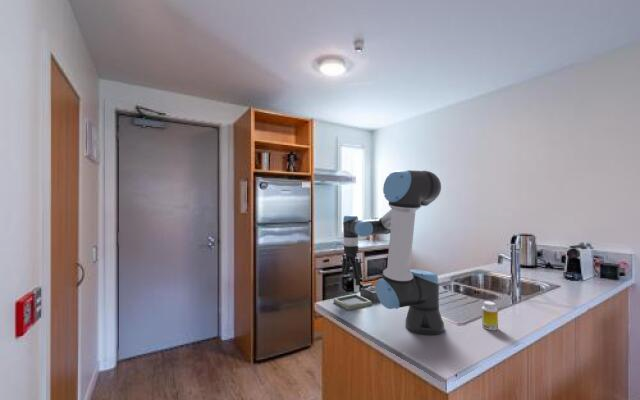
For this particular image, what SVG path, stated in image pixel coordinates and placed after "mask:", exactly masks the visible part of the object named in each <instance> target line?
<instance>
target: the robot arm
mask: <svg viewBox="0 0 640 400" xmlns="http://www.w3.org/2000/svg"><path fill="white" fill-rule="evenodd" d="M441 183H442V182H441V180H440V178H439V177H438V176H437V175H436V174H435V173H433V172H432V171H430V170H411V169H410V170H408V169H400V170H394V171H392V172H389V174H388V175H387V177H386V178H385V179H384V183H383V188H382V191H383V196H384V198H385V200H386V201H388V206H389V207H390V209H389V210H388V211H387V212H386V213H385V214H384V215H383V216H381V218H378V219H363V220H362V219H359V218H358V215H354V214H351V215H344V216H343V222H342V224H343V226H342V228H343V245H344V246H343V252H344V254H342V256H341V257H342V265H341V273H343V275H344V276H343V277H348V276H351V275H350V274H351V273H350V269H351V268H352V271H353V276H355V278H354V292H353V293H357V292H360V291H359V284H360V283H361V281H360V282H359V279H360V278H361V279H363V272H362V263H361V261H362V258H361V257H358V255H357V254H359V237H369V236H376V235H389V240H388V241H389V242H388V254H387V255H388V256H387V265H386V267H385V269H383V271H382V278H379V279H378V280H377V281H376V282H375V287H376V293H377V296H378V299H379V301H378V302H380V303H381V305H382V306H383V307H384V308H385V309H388V310H393V309H396V310H397V309H400V308H404V307H408V310H407V313H406V314H407V315H406V317H405V319H404V320H405V327H406V328H407V329H408V330H410V332H414V333H415V334H420V335H425V336H435V335H440V334H442V333H444V331H445V323H444V321H443V318H442V314H441V312H440V295H439V294H440V292H439V291H440V288H439V287H440V286H439V285H440V283H439V277H438V274H437V273H435V272H432V271H429V270H428V271H427V270H423V269H411V262H412V252H413V251H412V250H413V242H414V241H413V240H414V233H415V232H414V229H415V221H416V212H417V211H418V210H419V209H421V208H422V207H426V206H427V207H428V206H429V205H431V203H433V202H435V200H436V199H437V198H438V197H439V196H440V194H441V191H442V184H441Z"/></svg>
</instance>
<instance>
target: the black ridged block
mask: <svg viewBox="0 0 640 400" xmlns="http://www.w3.org/2000/svg"><path fill="white" fill-rule="evenodd" d="M354 278H355V276H354V275H350V276H348V277H345V276H341V278H340V286H341V289H342V290H343V291H344V292H345V293H355V292H354ZM359 282H360V284H359V291H358V292H360V291H362V289H361V288H363V284H362V283H363V282H364V280H363V278H360V279H359Z"/></svg>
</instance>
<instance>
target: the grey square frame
mask: <svg viewBox="0 0 640 400" xmlns="http://www.w3.org/2000/svg"><path fill="white" fill-rule="evenodd" d="M333 303H334V304H335V305H337V306H339V307H341V308H342V309H345V310H346V311H348V312H349V311H352V310H357V309H360V308H366V307H370V306H373V302H372V301H370V300H368V299H366V298H364V297H362V296H360V294H357V293H355V294H350V295H349V294H348V295H345V296H340V297H339V296H338V297H335V298H333Z"/></svg>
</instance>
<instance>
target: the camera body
mask: <svg viewBox="0 0 640 400" xmlns="http://www.w3.org/2000/svg"><path fill="white" fill-rule="evenodd" d="M362 285H363V288H361V289H362V291H359V295H360V296H362V297H364V298H366V299H368V300H370V301H372V303H378V302H380V301H379V299H378V296H377V293H376V286H374V283H371V282H369V283H364V284H362Z"/></svg>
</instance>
